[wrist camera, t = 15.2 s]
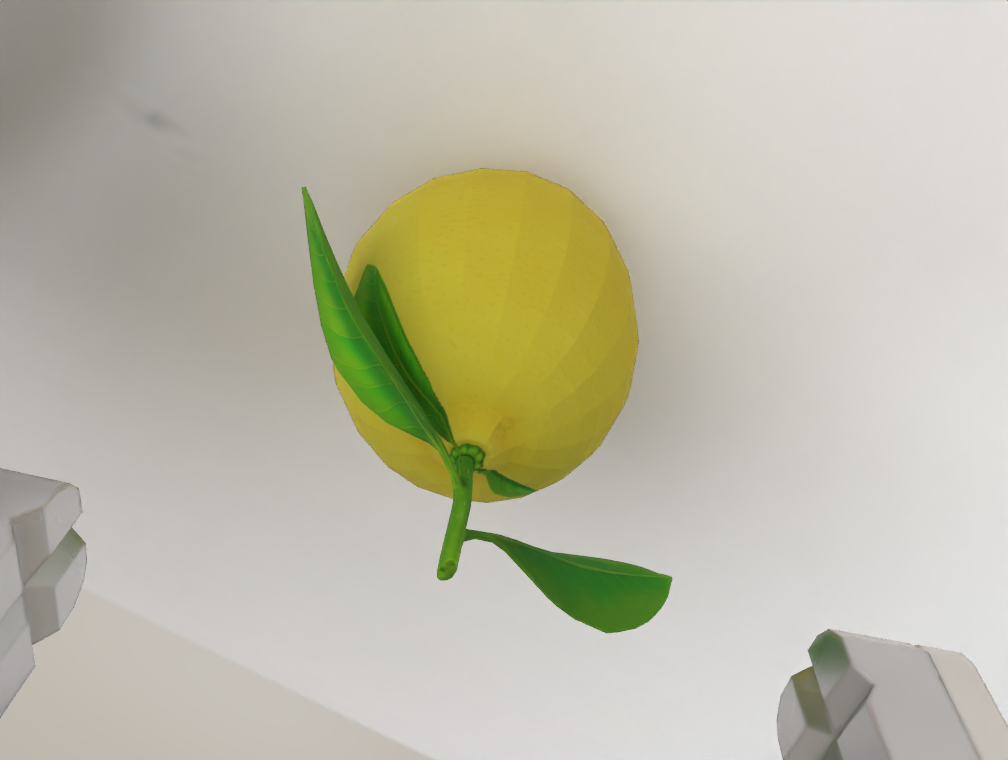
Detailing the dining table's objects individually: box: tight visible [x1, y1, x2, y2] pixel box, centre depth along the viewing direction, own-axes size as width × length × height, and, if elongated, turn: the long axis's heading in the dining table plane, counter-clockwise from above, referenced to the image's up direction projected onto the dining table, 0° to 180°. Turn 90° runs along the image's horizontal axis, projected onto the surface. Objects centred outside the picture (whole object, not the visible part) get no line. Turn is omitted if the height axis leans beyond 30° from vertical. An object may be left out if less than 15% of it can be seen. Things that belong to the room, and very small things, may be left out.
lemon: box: [302, 168, 672, 633], centre depth 14 cm, size 7×6×10 cm
